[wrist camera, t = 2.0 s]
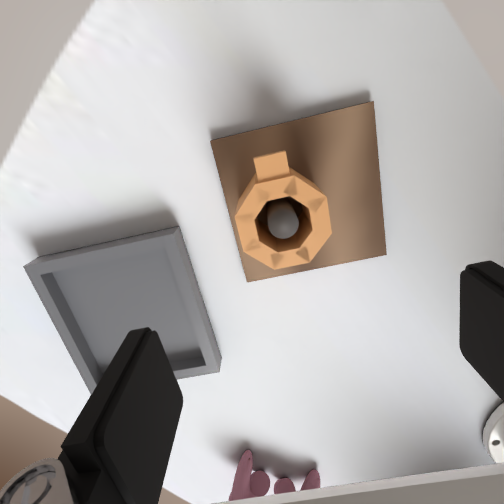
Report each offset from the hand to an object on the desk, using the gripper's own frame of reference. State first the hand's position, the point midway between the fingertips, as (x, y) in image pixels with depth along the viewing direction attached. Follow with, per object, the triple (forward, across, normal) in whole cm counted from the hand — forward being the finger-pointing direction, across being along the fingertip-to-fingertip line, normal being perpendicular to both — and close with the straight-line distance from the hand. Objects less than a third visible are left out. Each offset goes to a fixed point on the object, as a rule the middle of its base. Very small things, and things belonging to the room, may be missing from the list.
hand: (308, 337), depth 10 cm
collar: (+17, 0, 0) cm, 17 cm away
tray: (+18, +15, +7) cm, 24 cm away
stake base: (+18, -2, 0) cm, 18 cm away
